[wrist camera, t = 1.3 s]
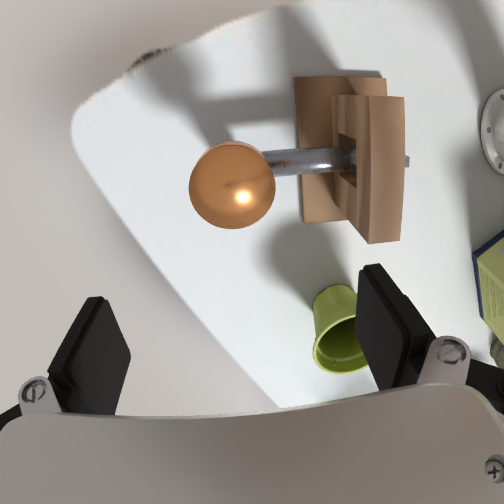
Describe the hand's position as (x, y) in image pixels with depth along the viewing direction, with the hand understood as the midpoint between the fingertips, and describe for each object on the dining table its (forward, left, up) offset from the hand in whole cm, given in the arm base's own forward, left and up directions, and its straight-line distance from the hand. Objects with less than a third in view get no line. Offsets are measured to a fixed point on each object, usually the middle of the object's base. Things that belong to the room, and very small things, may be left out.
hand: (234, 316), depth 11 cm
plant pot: (-11, +19, -25) cm, 33 cm away
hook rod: (-7, -1, -23) cm, 23 cm away
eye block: (-12, -1, -25) cm, 27 cm away
